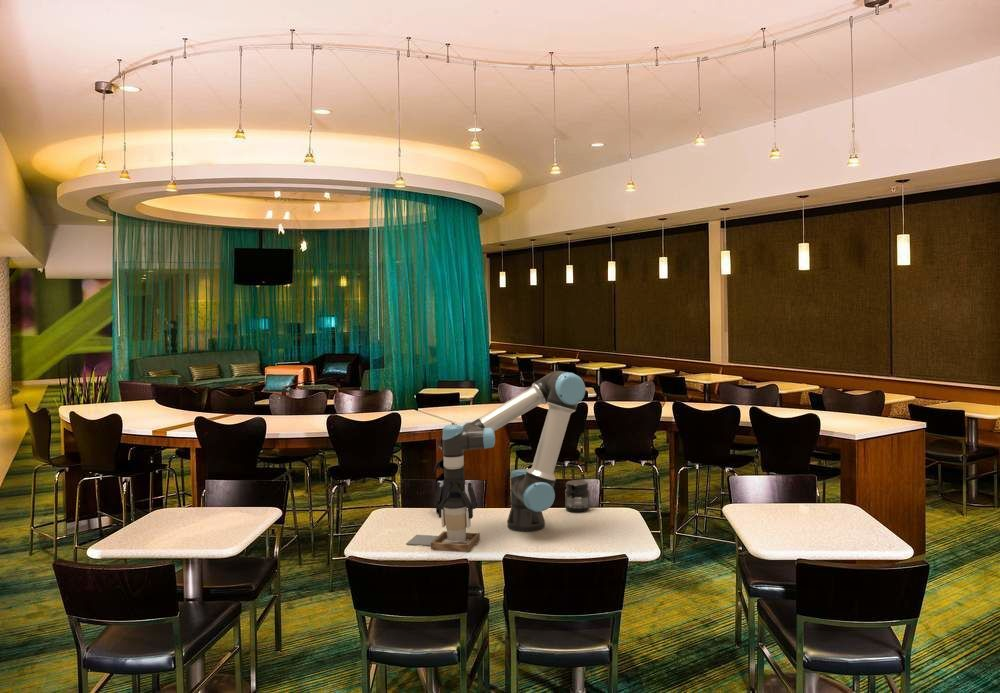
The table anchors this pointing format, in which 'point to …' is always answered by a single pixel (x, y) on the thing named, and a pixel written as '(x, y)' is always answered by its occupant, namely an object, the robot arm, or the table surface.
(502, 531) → the table surface
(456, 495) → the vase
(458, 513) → the coffee cup
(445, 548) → the wooden square frame
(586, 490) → the supplement container
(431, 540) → the mat
